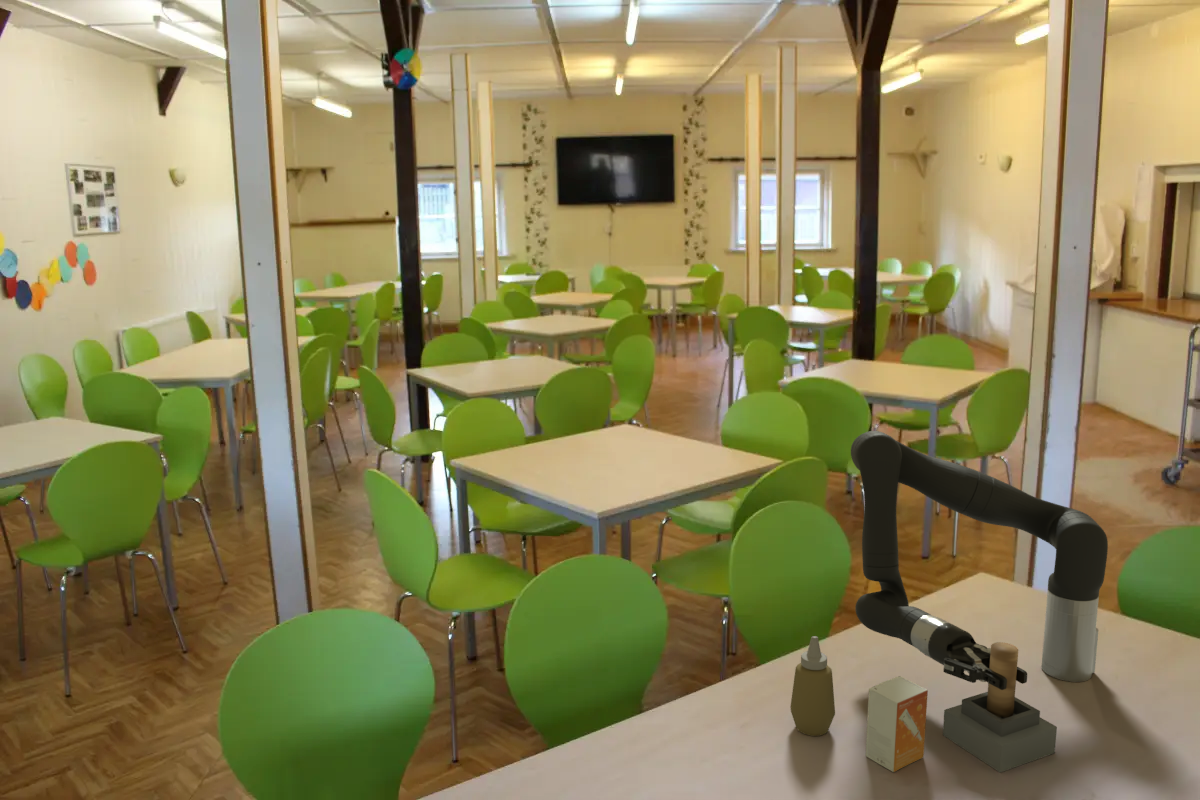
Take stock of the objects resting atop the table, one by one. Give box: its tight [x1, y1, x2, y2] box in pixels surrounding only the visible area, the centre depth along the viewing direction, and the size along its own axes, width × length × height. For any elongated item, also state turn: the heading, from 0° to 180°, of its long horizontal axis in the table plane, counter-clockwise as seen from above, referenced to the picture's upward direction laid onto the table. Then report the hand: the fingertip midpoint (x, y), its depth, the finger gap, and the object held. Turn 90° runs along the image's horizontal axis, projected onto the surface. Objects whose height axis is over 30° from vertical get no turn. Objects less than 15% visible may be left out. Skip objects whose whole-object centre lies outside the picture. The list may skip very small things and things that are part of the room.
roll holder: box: [942, 691, 1058, 773], centre depth 169 cm, size 13×13×8 cm
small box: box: [865, 675, 929, 773], centre depth 165 cm, size 8×6×13 cm
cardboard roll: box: [987, 641, 1019, 718], centre depth 167 cm, size 4×4×12 cm
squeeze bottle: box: [790, 635, 836, 737], centre depth 174 cm, size 8×8×18 cm
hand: (1015, 681), depth 165 cm, fingers closed on cardboard roll, 4 cm apart
